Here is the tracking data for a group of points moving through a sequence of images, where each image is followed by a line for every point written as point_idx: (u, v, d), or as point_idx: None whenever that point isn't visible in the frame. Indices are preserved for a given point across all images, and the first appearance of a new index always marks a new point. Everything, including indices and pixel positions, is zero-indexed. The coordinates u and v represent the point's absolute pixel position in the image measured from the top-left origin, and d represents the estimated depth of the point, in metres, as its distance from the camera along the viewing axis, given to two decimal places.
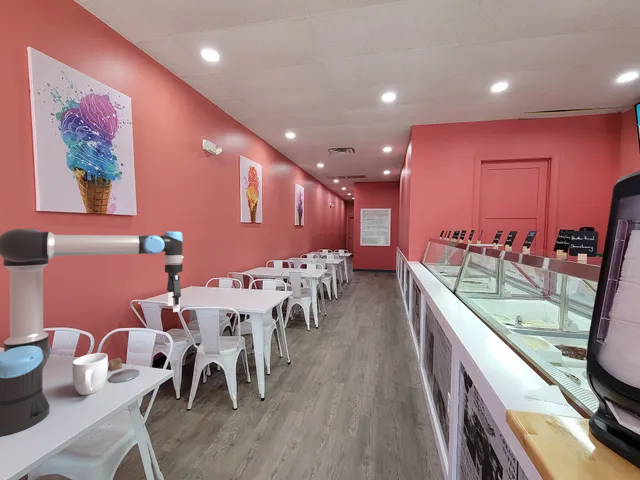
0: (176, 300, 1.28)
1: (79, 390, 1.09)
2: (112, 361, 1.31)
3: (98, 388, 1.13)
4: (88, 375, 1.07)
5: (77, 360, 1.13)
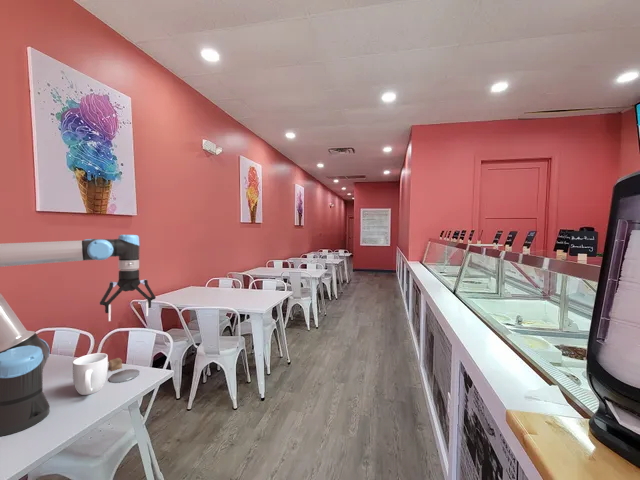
0: (105, 308, 1.20)
1: (79, 390, 1.09)
2: (112, 361, 1.31)
3: (98, 388, 1.13)
4: (88, 375, 1.07)
5: (77, 360, 1.13)
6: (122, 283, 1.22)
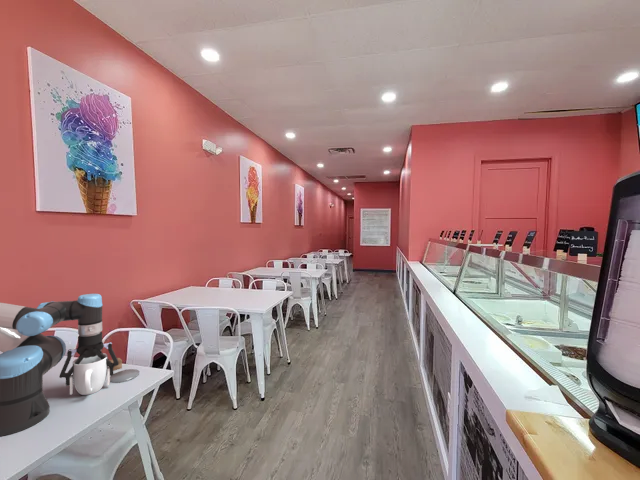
0: (66, 380, 1.09)
1: (79, 390, 1.09)
2: (112, 361, 1.31)
3: (98, 388, 1.13)
4: (88, 375, 1.07)
5: None
6: (82, 349, 1.10)
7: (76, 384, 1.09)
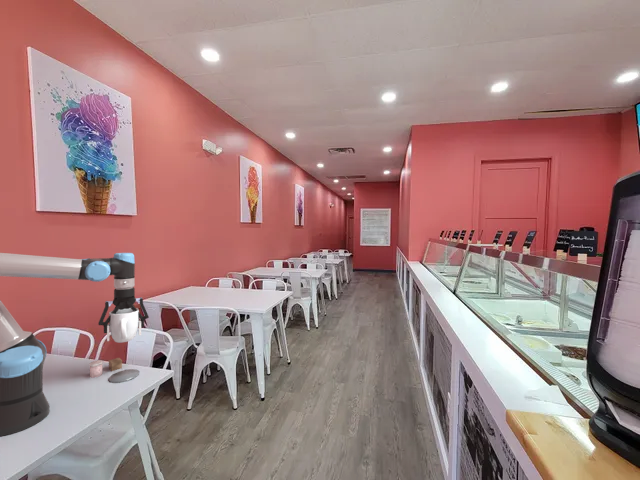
0: None
1: (115, 337, 1.22)
2: (112, 361, 1.31)
3: (131, 337, 1.25)
4: (124, 323, 1.19)
5: None
6: (117, 301, 1.23)
7: (113, 332, 1.21)
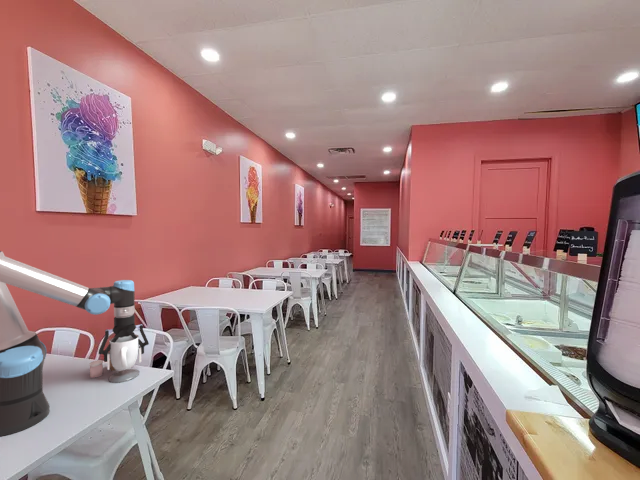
0: (104, 356, 1.21)
1: (115, 366, 1.22)
2: None
3: (131, 364, 1.25)
4: (124, 352, 1.19)
5: None
6: (117, 329, 1.23)
7: (113, 360, 1.21)
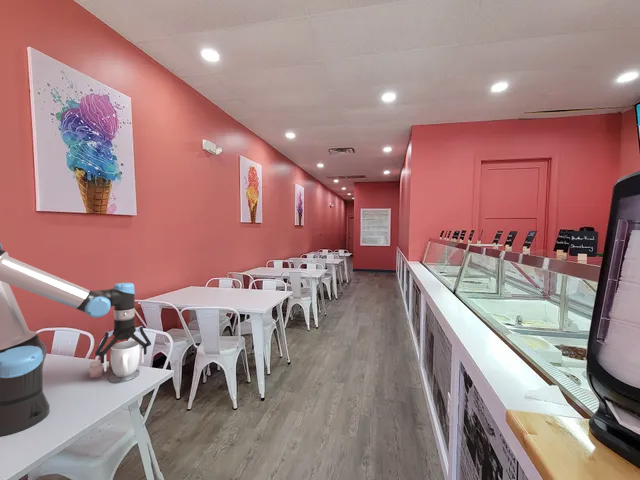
0: None
1: (116, 372, 1.22)
2: None
3: (132, 371, 1.25)
4: (125, 359, 1.20)
5: (114, 346, 1.26)
6: (117, 332, 1.23)
7: (114, 367, 1.22)
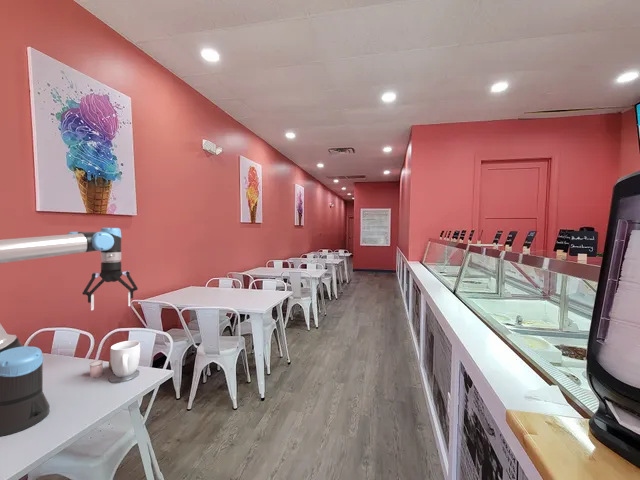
0: (88, 297, 1.25)
1: (116, 373, 1.22)
2: None
3: (132, 371, 1.25)
4: (125, 359, 1.20)
5: (113, 346, 1.26)
6: (104, 274, 1.27)
7: (114, 367, 1.22)
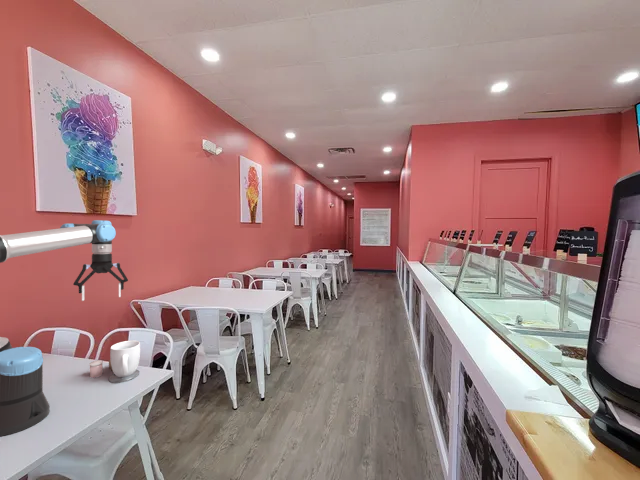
0: None
1: (116, 373, 1.22)
2: None
3: (132, 371, 1.25)
4: (125, 359, 1.20)
5: (113, 346, 1.26)
6: (95, 265, 1.31)
7: (114, 367, 1.22)
